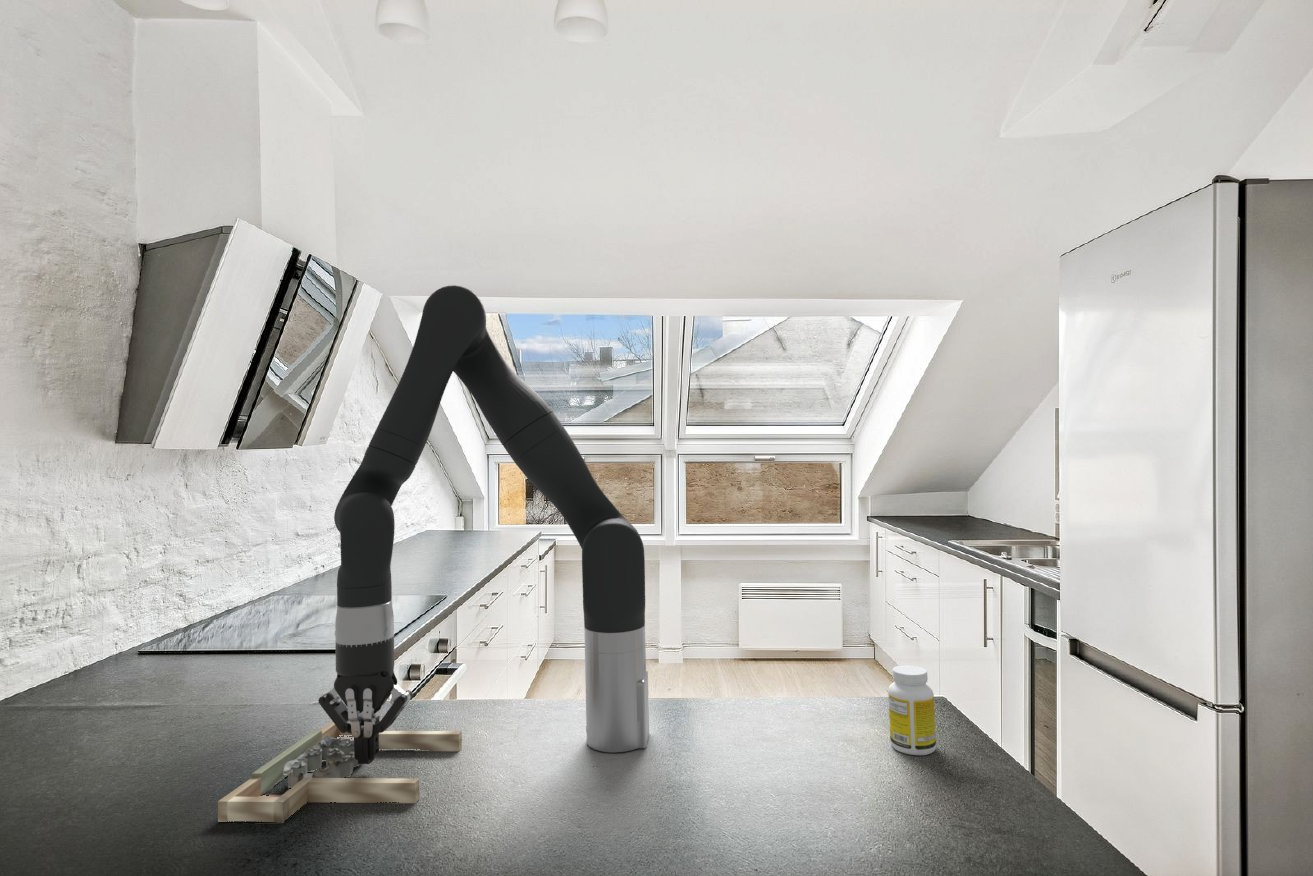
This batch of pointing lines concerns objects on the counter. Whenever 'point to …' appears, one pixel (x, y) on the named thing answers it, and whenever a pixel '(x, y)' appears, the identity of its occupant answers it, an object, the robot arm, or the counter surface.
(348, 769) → the egg carton
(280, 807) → the box
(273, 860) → the counter surface
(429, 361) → the robot arm
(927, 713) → the pill bottle
